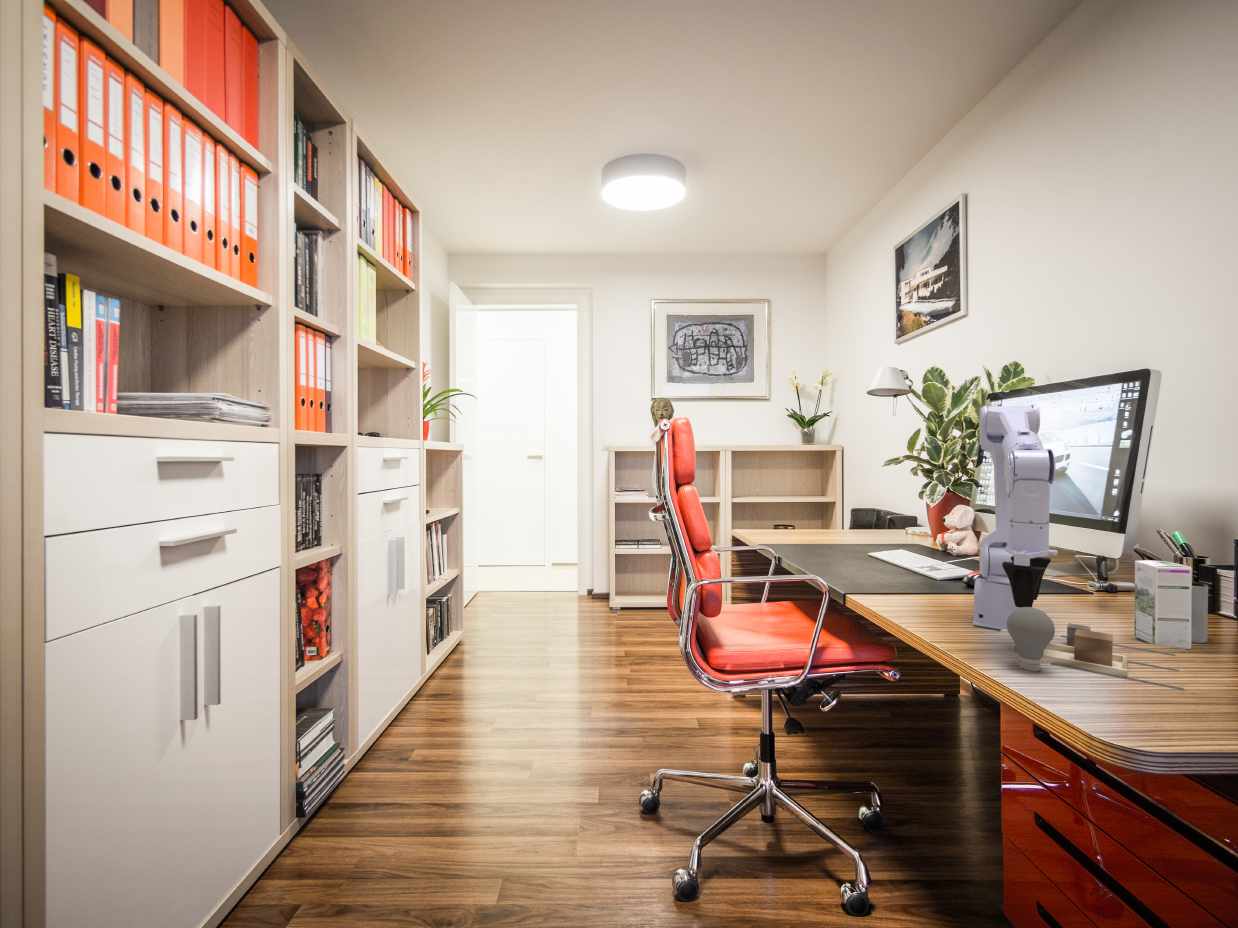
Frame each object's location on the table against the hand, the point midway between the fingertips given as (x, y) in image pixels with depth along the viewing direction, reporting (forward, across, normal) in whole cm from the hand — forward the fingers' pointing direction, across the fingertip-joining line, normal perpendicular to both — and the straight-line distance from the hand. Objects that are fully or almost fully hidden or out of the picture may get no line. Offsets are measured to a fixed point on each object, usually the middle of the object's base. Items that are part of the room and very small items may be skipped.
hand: (1026, 603), depth 97 cm
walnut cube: (+8, 0, -9) cm, 12 cm away
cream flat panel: (+9, +9, -12) cm, 17 cm away
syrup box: (+9, +24, -18) cm, 31 cm away
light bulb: (+9, -10, -2) cm, 13 cm away
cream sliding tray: (+9, 0, -5) cm, 10 cm away
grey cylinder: (+9, +31, -22) cm, 39 cm away
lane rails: (+9, +5, -11) cm, 15 cm away
